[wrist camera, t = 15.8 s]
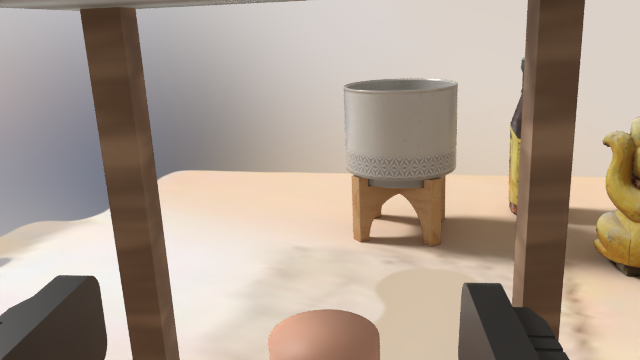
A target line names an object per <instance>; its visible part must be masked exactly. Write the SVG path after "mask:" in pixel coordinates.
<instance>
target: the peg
mask: <svg viewBox="0 0 640 360" xmlns="http://www.w3.org/2000/svg"><path fill="white" fill-rule="evenodd" d="M268 346H269V358H270V360H380V343H379V332H378V330H377V328H376V327H375V325H374V324H373V323H372V322H370V321H369V320H368V319H366V318H364V317H362V316H360V315H358V314H355V313H351V312H347V311H342V310H330V309H328V310H313V311H308V312H303V313H300V314H296V315H294V316H291V317H289V318H287V319H285V320H283V321H282V322H280V323H279V324H278V325H277V326H276V327H275V328H274V329H273V330H272V331H271V333H270V335H269V339H268Z"/></svg>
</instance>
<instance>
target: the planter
mask: <svg viewBox="0 0 640 360" xmlns="http://www.w3.org/2000/svg"><path fill="white" fill-rule="evenodd" d="M457 87H458V84H457V82H455V81H451V80H443V79H424V78H421V79H420V78H414V79H413V78H409V79H408V78H407V79H383V80H370V81H362V82H356V83H350V84H347V85H345V86H344V109H345V110H344V111H345V141H346V168H347V170H348V172H350V173H351V174H353V175H354V176H352V200H353V232H354V239H356V240H358V241H359V242H363V241H367V240H369V234H370V228H371V225H372V222H373V219H374V218H376V217H381V208H382V205H383V204H384V203H385V202H386V201H387V200H388V199H390V198H391V197H393V196H394V195H397V194H399V193H400V194H401V195H403V196H404V197H405V198H406V199H407V200H408V201H409V202H410V203H411V205H412V206H413V208H414V209H415V211H416V213H417V215H418V218H419V220H420V223H421V227H422V231H423V242H424V243H425V244H427V245H429V246H433V245H437V244H440V243H441V221H442V220H445V175H447V174H449V173H451V172H453V171H454V170H455V168H456V134H457Z"/></svg>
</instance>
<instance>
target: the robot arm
mask: <svg viewBox="0 0 640 360" xmlns="http://www.w3.org/2000/svg"><path fill="white" fill-rule="evenodd" d="M106 351H107V334H106V327H105V320H104V313H103V306H102V299H101V292H100V286H99V283H98V280H97V279H96V278H95V277H94V276H70V275H59V276H57V277H55V278H54V279H53V280H52V281H51V282H50V283H48V284H47V285H46V286H45V287H44V288H43V289H41V290H40V291H39V292H38V293H37V294H35V295H34V296H33V297H31V298H29V299H27V300H25V301H23V302H21V303H19V304H17V305H15V306H13V307H11V308H9V309H8V310H7V311H6V312H4V313H3V314H2V315H1V316H0V360H104V359H105V356H106ZM458 357H459V360H569V358H568V357H567V355H566V353H565V352H563V348H562V347H561V345H560V343H559V342H558V340H557V339H555V335H554V333H553V332H552V330H551V328H550V327H549V325H548V323H547V322H546V320H544V319H543V318H542V317H540V316H539V315H538V314H536V313H535V312H533V311H532V310H531V309H529V308H528V307H513V306H512V305H511V303H510V301H509V299H508V297H507V295H506V293H505V291H504V289H503V287H502V285H501V284H500V283H464V284H463V288H462V296H461V312H460V329H459V346H458Z"/></svg>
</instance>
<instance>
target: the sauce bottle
mask: <svg viewBox="0 0 640 360" xmlns="http://www.w3.org/2000/svg"><path fill="white" fill-rule="evenodd" d="M524 68H525V58H523V59H522V65H521V69H522V71H523V85H522V87H524ZM521 92H522V95H521V97H520V100H519V103H518V105H517V108H516V110H515V113H514V116H513V118H512V121H511V127H510V160H509V161H510V166H509V167H510V170H509V172H510V173H509V202H510V205H509V206H510V209H511V211H512V212H513V213H515V214H517V202H518V183H519V164H520V144H521V125H522V106H523V88H522V91H521Z"/></svg>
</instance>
